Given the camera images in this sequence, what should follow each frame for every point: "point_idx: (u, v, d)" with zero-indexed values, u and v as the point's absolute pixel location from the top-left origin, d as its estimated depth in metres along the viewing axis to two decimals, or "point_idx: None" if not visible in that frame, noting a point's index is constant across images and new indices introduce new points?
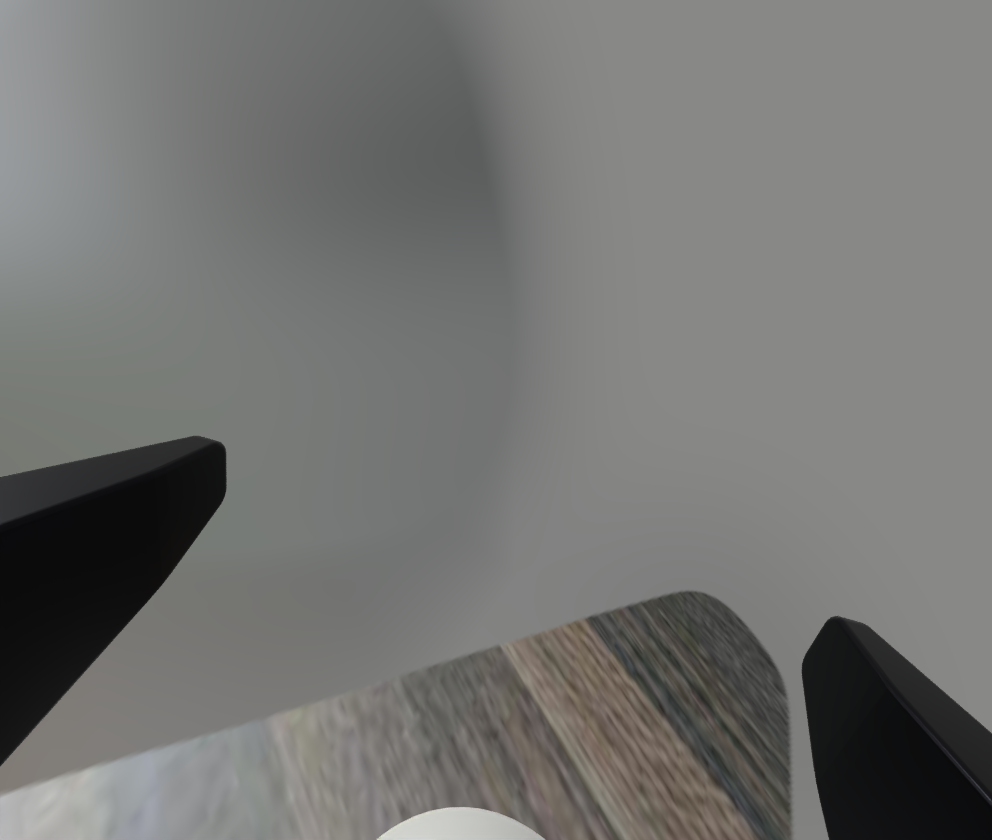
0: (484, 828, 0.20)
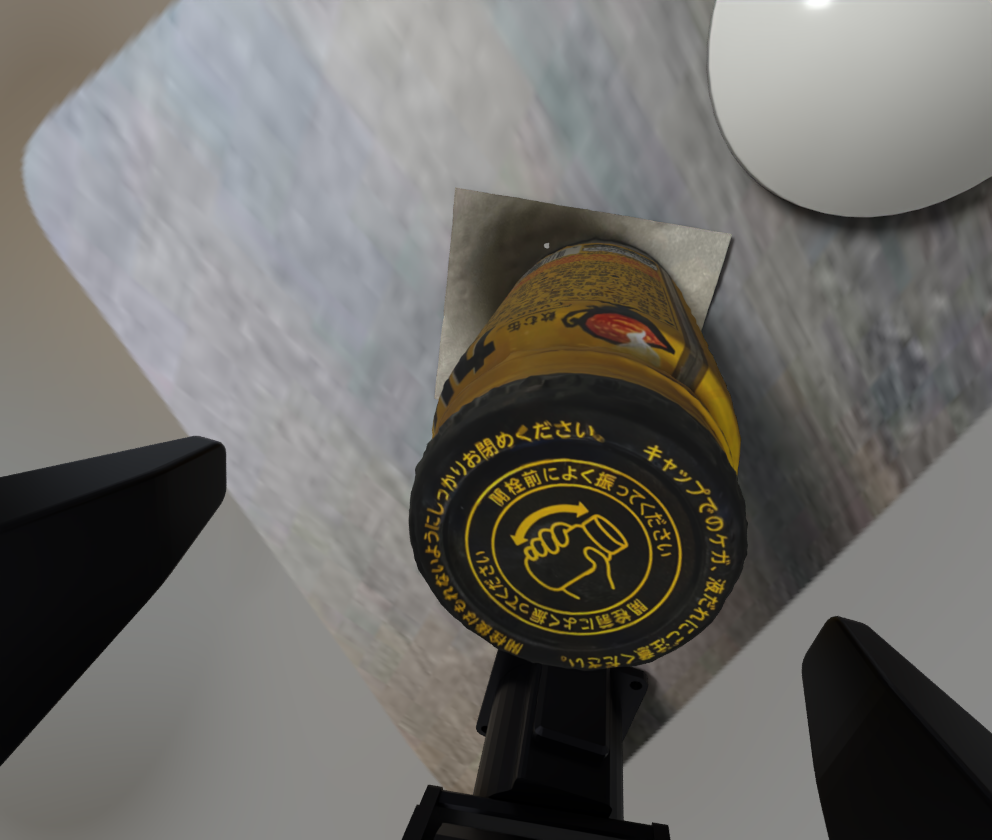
0: None
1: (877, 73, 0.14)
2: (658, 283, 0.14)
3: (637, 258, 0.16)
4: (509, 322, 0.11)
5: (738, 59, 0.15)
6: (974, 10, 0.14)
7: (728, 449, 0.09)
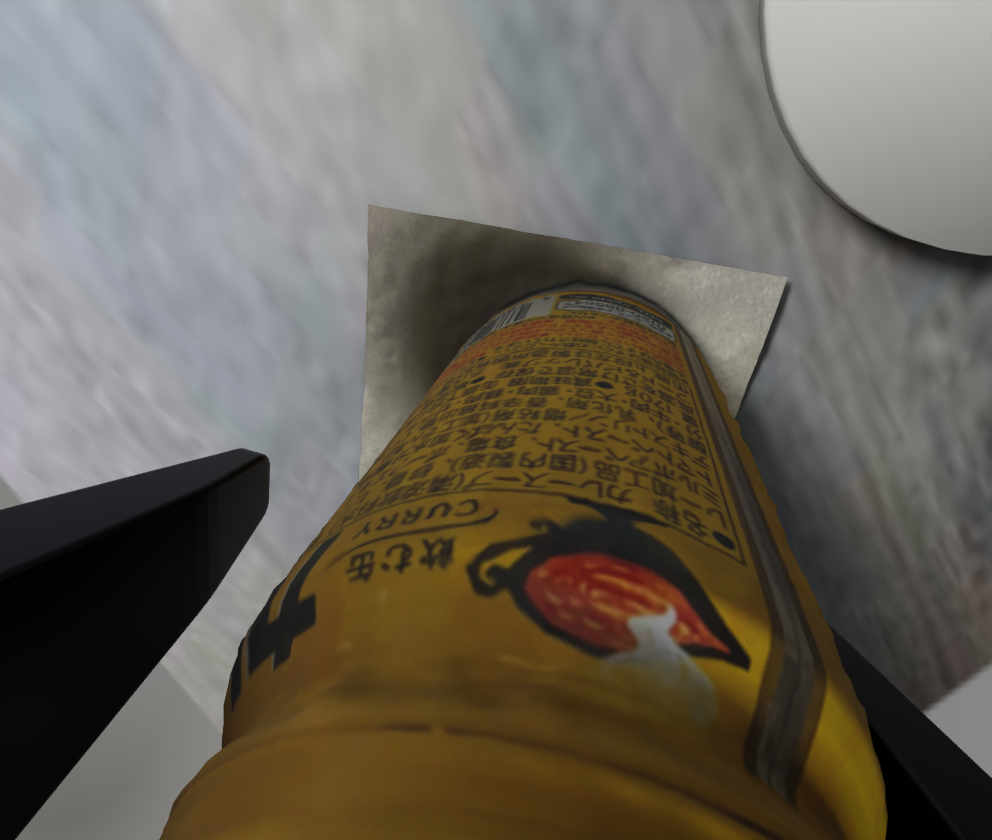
0: None
1: None
2: (682, 381, 0.08)
3: (643, 321, 0.10)
4: (356, 545, 0.05)
5: None
6: None
7: None
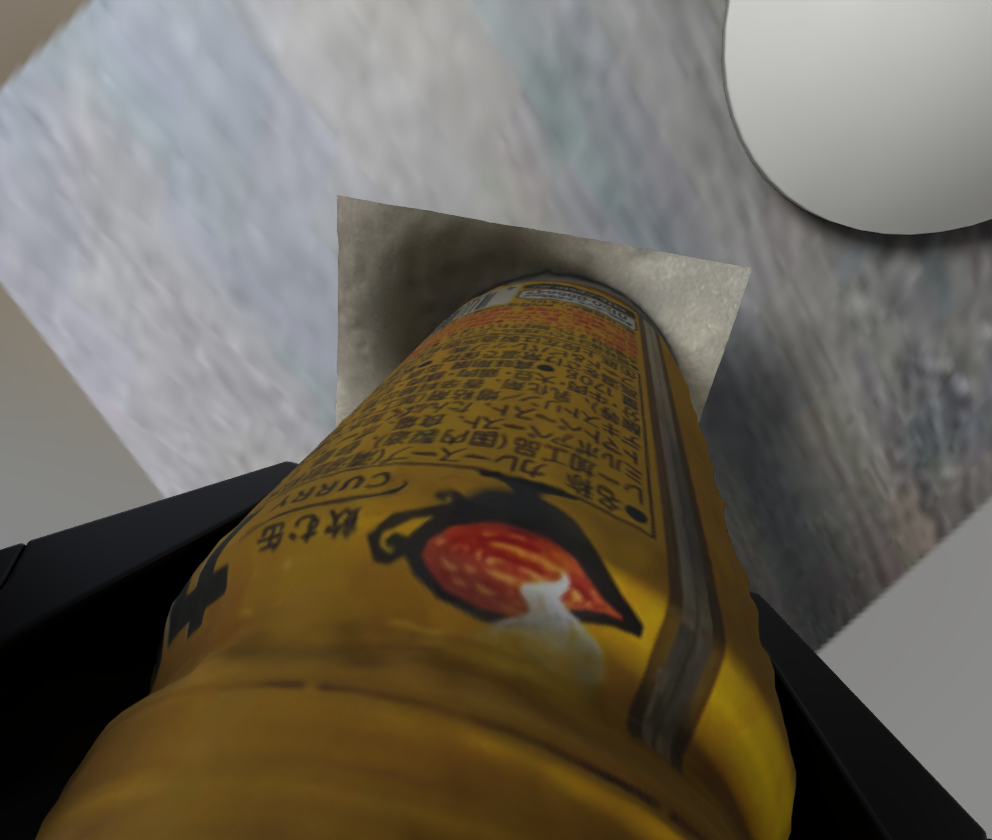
0: None
1: (926, 65, 0.12)
2: (631, 367, 0.08)
3: (603, 310, 0.10)
4: (270, 518, 0.05)
5: (760, 49, 0.13)
6: None
7: None
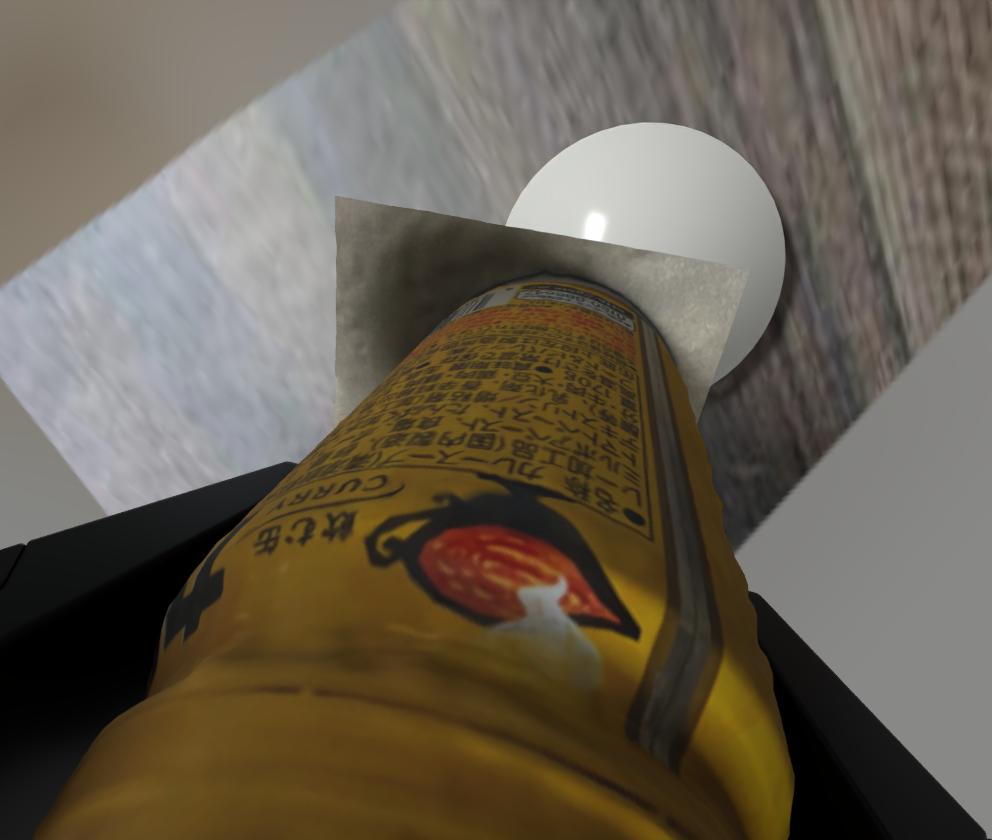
0: (663, 146, 0.17)
1: None
2: (629, 368, 0.08)
3: (602, 311, 0.10)
4: (267, 521, 0.05)
5: None
6: None
7: None
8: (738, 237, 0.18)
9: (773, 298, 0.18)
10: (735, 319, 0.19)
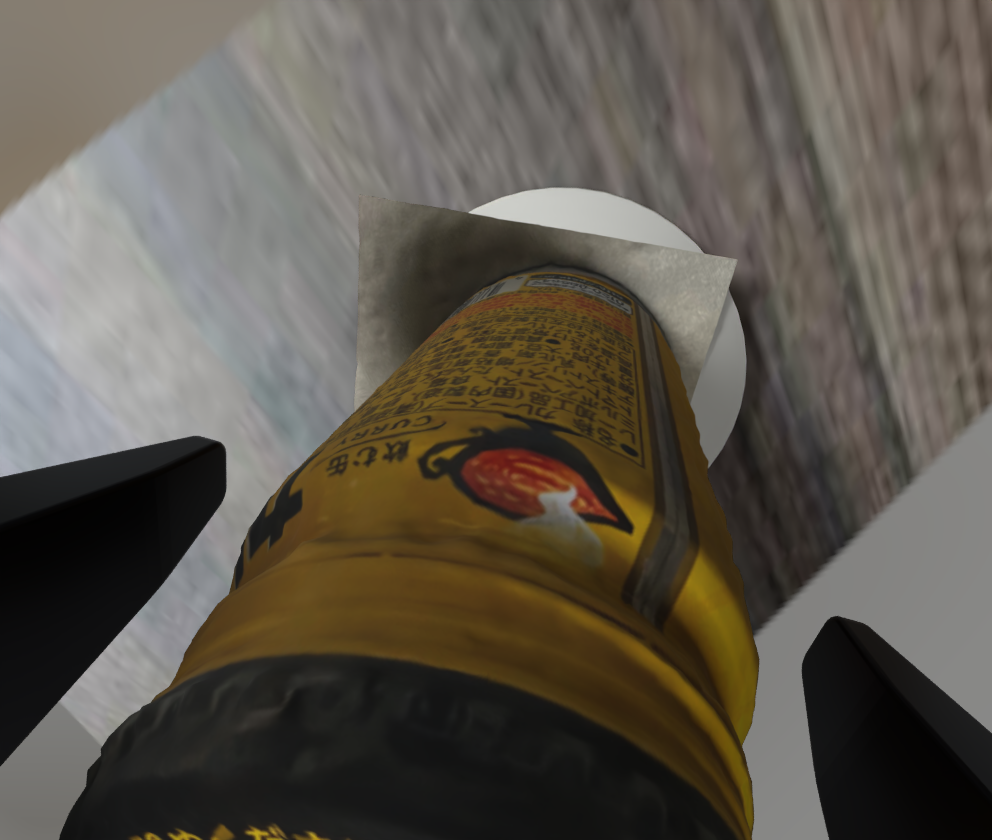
0: (580, 219, 0.13)
1: None
2: (627, 344, 0.09)
3: (603, 297, 0.11)
4: (335, 453, 0.06)
5: None
6: None
7: (739, 759, 0.04)
8: None
9: (732, 408, 0.14)
10: None
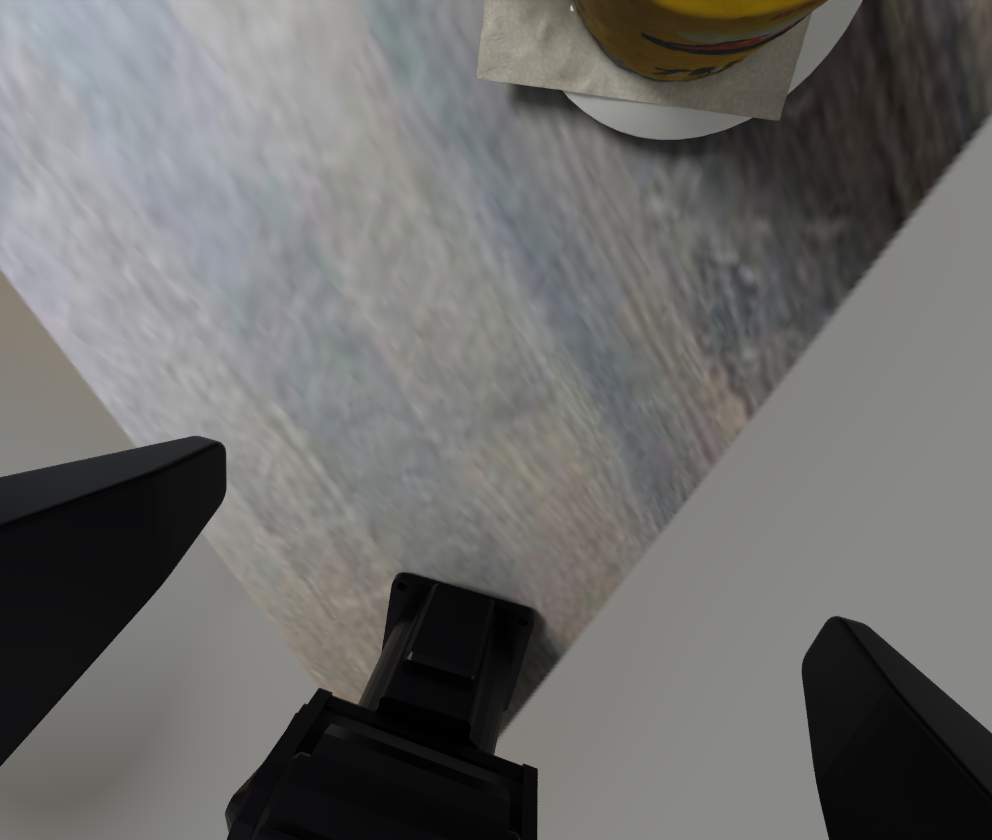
0: None
1: None
2: None
3: None
4: None
5: None
6: None
7: None
8: None
9: None
10: None
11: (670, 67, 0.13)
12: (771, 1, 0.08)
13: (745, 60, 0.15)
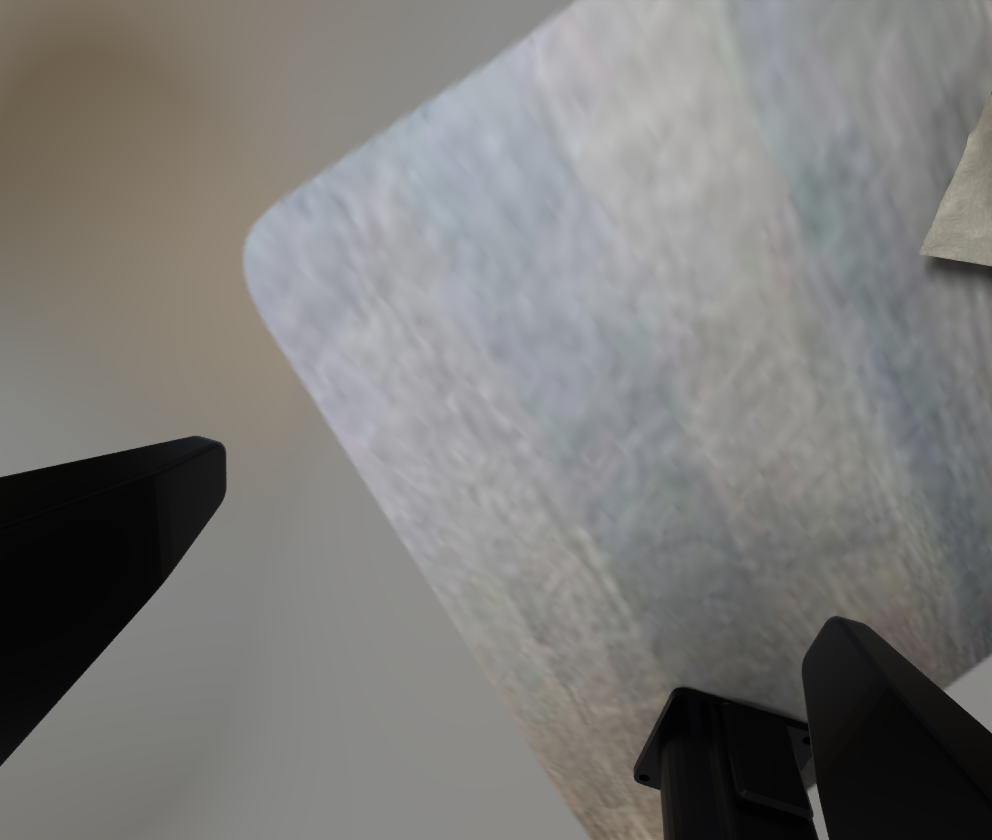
0: None
1: None
2: None
3: None
4: None
5: None
6: None
7: None
8: None
9: None
10: None
11: None
12: None
13: None
